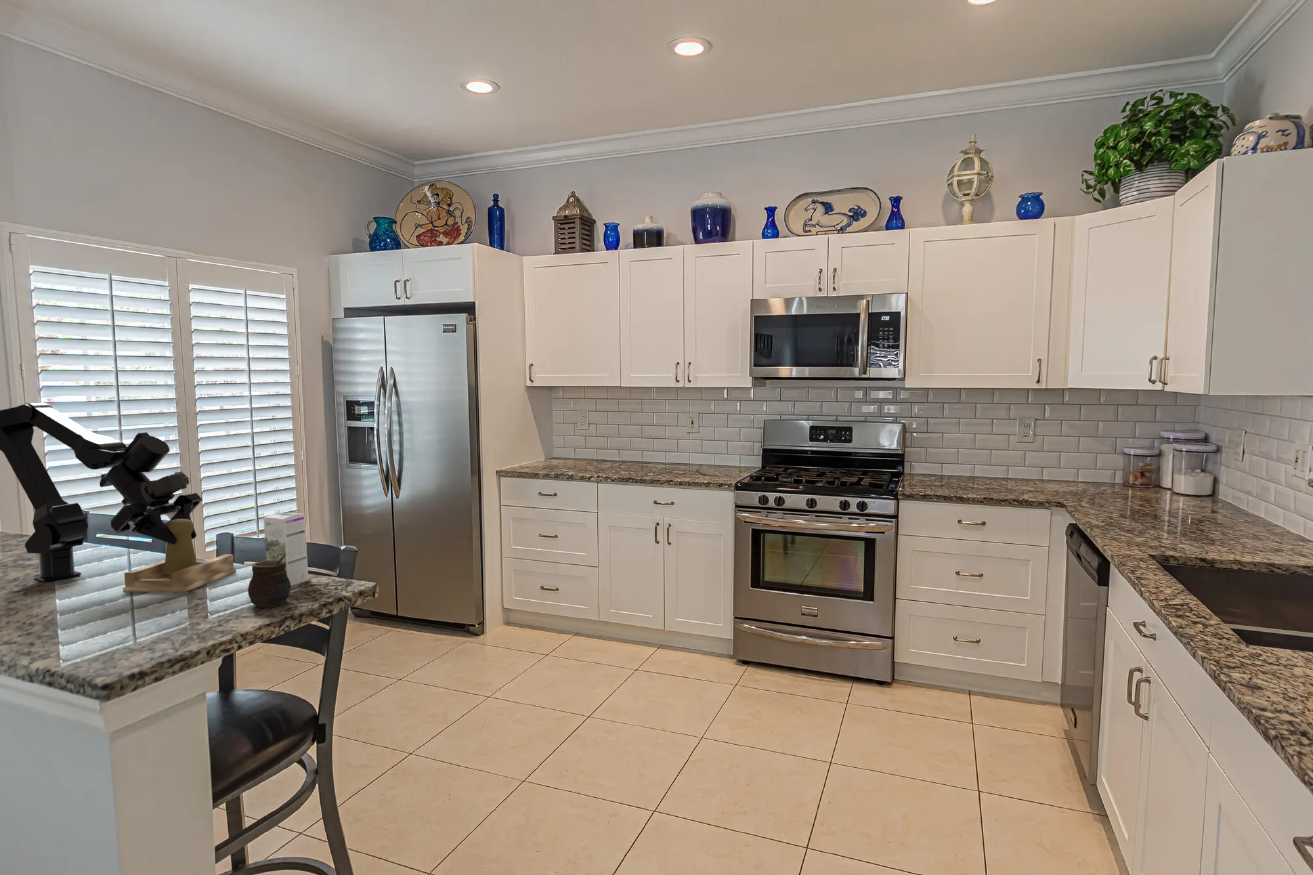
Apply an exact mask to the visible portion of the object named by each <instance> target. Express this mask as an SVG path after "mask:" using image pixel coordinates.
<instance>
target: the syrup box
mask: <svg viewBox="0 0 1313 875" xmlns="http://www.w3.org/2000/svg"><path fill="white" fill-rule="evenodd" d="M263 527H264V528H263V529H264V530H263V531H264V547H265V550H264V551H265V560H279V559H281V558H282V557H283V555H285V554H286V556H285V557H284V558H283V560H282V561H285V572H286V574H287V577H288V579H289V580H290V583H291V587H293V586H296V585H299V584H302V583H305V582H308V581H309V571H308V569H309V568H308V552H307V551H308V550H307V549H308V548H307V530H306V529H307V527H306V514H304V513H298V512H297V513H296V512H278V513H277V512H276V513H273V514H269V515H267V516H263Z"/></svg>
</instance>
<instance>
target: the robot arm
mask: <svg viewBox="0 0 1313 875" xmlns="http://www.w3.org/2000/svg"><path fill="white" fill-rule="evenodd" d="M35 427H36V428H38V429H39V430H41V431H42V432H44V433H46V434H48V435H49V436H50V437H53V438H54V439H56V440H57V441H58V442H61V443H62V444H63V445H65V446H67V447H69V448H70V449H71V450H72V451H73V452H74V456H75V458H76V459H77V460H78V461H80V462H81V464H82V465H84V467H86V468H87V469H90V470H103V469H109V470H108V471H107V472H106V473H101V475H100V477H101V478H100V481H99V487H100V488H104V487H105V488H106V487H111V486H113V487H114V489H115V490H116V491H117V492H118V493H119V494H120V495H121V496H122V498H123V499H122V500H121V503H122V507H121V508H120V509H119V511H118V512H117V513H116V514H115V515H114V516H113V517H112V519H110V527H111V529H112V530H113V531H114V532H115V533H116V534H120V533H121V534H122V533H125V532H128V531H130V529H131V525H130V523H131V522H132V523H133V526H134V527H133V528H132V530H131V532H132V533H134V534H135V533H137V534H141V535H145V536H148V537H151V538H153V539H157V540H160V541H162V542H165V543H166V544H167V543H170V544H175V543H176V542H177V539H176V538H175V536H174V535H173V534H172V532H171V531H170V530H169V529H168V528H167V526H166V525H165V524H166V523H165V522H163V520H162V516H164V515H165V516H166V517H167V518H168V519H169V520H168V521H171V520H175V519H189V520H191V521H192V519H191V513H193V511H194V510H195V509H196V508H197V506H199V505H200V504H201V502H202V501H203V498H202V497H201V496H200V495H199V494H198V493H197V492H189V493H183V494H180V495H178V496H177V498H176V499H174V501H173V502H170V501H171V500H173V498H174V497H175V493H176V492H179V491H181V490H185V489H186V488H188V486H187V485H189V484H190V478H189V477H188V476H187V475H186V473H184V472H183V471H177V472H174V473H172V474H170V475H165V476H162V477H161V478H159V479H153V480H151V479H150V478H148V476H147V475H146V474H145V473H151V472H153V471H154V469H156V467H157V466H158V465H159V464H160V463H161V461H162V460H163V459H164V458H165V457H166V455H168V453H169V452H170V446H169V445H168V443H167V442H166V441H163V440H162V439H160V438H159V437H155V436H154V435H153V436H152V435H150V434H149V433H148V432H146V431H145V432H137V434H136V435H135V436H134V438H133V440H132V441H131V442H130V443H129V444H128V445H126V443H124V442H123V441H121V440H118V439H116V438H113V437H111V436H109V435H108V436H107V435H103V434H97V433H95V432H93V431H90V430H89V429H87V428H85V427H84V426H82V425H80V424H79V423H77V422H75V421H74V420H73V419H70V418H69V417H68V416H65V414H62V413H61V412H59V411H58V410H56V409H54V408H53V406H52V405H51V404H49V403H45V402H31V403H29V402H27V403H23V404H20V405H18V406H13V407H9V408H5V409H0V451H1V452H2V453H3V454H4V456H5V458H6V460H7V462H8V463H9V465H10V467H11V469H12V471H13V473H14V474H15V476H16V478H17V480H18V482H19V484H20V485H21V487H22V489H23V491H24V492H25V494H26V496H27V498H28V499H29V502H30V503H31V505H32V507H33V509H34V515H33V520H32V527H33V529H34V531H33V533H32V535H31V536H30V537H29V538H28V539H27V540H26V541H25V543H24V547H25V550H26V553H27V554H38V561H39V574H36V575H34V576H33V578H34V579H36V580H38V581H41V582H50V581H55V580H62V579H68V578H72V577H77V576H78V577H79V576H81V575H82V572H80V571H77V570H75V562H74V560H75V559H74V558H75V557H74V547H77V546H83V545H84V542H85V538H86V534H87V531H88V529H89V524H88V521H87V519H88V516H87V515H85V513H84V511H83V509H82V506H81V505H80V504H79V503H78V502H74V503H68V502H67V501H65V500H64V499H63V498H62V496H61V494H60V493H59V490H58V489H57V487H56V485H55V483H54V480H53V479H52V478H51V476H50V475H49V473H48V471H47V469H46V467H45V466H44V463H43V461H42V460H41V458H40V456H39V455H38V453H37V451H36V449H35V447H34V445H33V439H34V438H33V437H34V434H35V430H34V428H35ZM129 522H130V523H129ZM191 537H192V540H193V539H196V538H197V532H196V529H195V528H194V529H193V532H192V533H191Z"/></svg>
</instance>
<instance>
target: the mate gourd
mask: <svg viewBox="0 0 1313 875" xmlns="http://www.w3.org/2000/svg"><path fill="white" fill-rule="evenodd" d="M285 556H286V554H285V555H283V557H282V558H281V559H279V560H266V559H265V560H260V561H257V562H254V563H253V564H251V572H252V576H251V579H250V581H249V584H248V586H247V587H248V588H247V594H248V597H249V599H250V602H251V604H253V605H254V606H255V607H257V608H262V609H268V608H274V607H279V606H281V605H283V604H284V603H285V602H286V601H287V600H288V599H289V597H290V593H291V591H292V586H291V583H290V580H289V579H288V577H287V574H286V572H285V561H282V560H283V558H284V557H285Z"/></svg>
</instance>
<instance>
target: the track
mask: <svg viewBox="0 0 1313 875" xmlns="http://www.w3.org/2000/svg"><path fill="white" fill-rule="evenodd" d="M196 562H197V564H196V565H193V566H191V567H188V568H185V569H182V570H179V571H177V572H174V573H172V575H171V574H164V566H165V559H163V560H159V561H156V562H154V563H153V562H152V563H151V564H150V563H149V564H147V565H144V566H141V567H138V568H134V569H131V570H128V571H126V572H124V575H123V576H124V586H123V587H122V592H153V593H155V592H156V593H157V592H158V593H159V592H161V593H163V592H165V593H166V592H168V593H169V592H170V593H171V592H172V593H183V592H184V593H185V592H188V591H190V590H192V589H196V588H198V587H201V586H203V585H205V584H208V583H210V582H214V581H216V580H218V579H220V578H224V577H225V576H227V575H231V574H233V573H235V572H237V568H236V567H234V554H221V555H220V556H216V557H214V558H211V559H207V560H196Z"/></svg>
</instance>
